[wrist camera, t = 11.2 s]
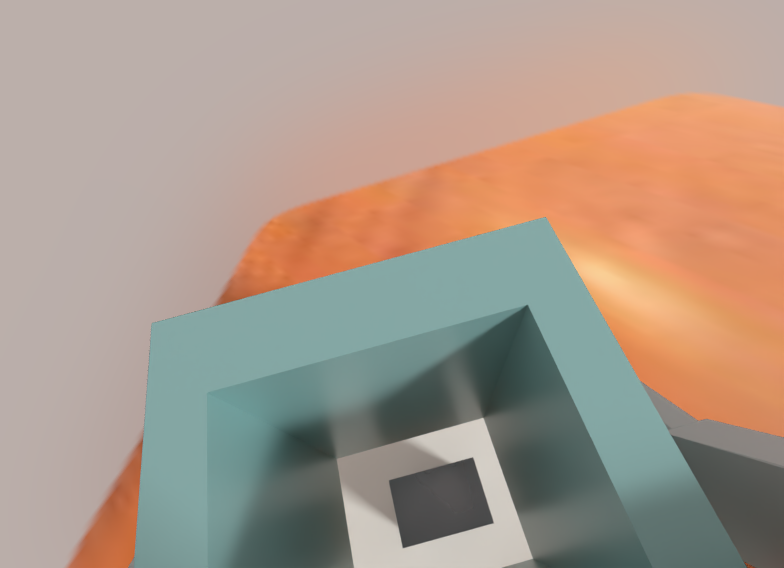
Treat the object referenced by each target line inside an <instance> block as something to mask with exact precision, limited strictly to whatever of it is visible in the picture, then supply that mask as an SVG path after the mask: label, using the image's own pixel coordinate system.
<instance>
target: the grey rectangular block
mask: <svg viewBox="0 0 784 568" xmlns="http://www.w3.org/2000/svg"><path fill="white" fill-rule="evenodd" d="M389 485H390V490H391V494H392V499H393V504H394V509H395V513H396V518H397V523H398V528H399V533H400V537H401V542H402V547H403V548H406V547H410V546H414V545H417V544H421V543H424V542H428V541H432V540H435V539H439V538H442V537H446V536H450V535H453V534H457V533H460V532H464V531H468V530H471V529H475V528H479V527H482V526H486V525H489V524H493V523H494V522H493V518H492V515H491V512H490V509H489V506H488V503H487V499H486V496H485V493H484V490H483V487H482V484H481V480H480V477H479V474H478V471H477V468H476V465H475V461H474V458H473V457H472V458H468V459H465V460H461V461H457V462H454V463H450V464H446V465H443V466H439V467H436V468H432V469H428V470H425V471H421V472H417V473H414V474H410V475H406V476H403V477H399V478H395V479H392V480H389Z"/></svg>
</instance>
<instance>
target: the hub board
mask: <svg viewBox="0 0 784 568" xmlns="http://www.w3.org/2000/svg"><path fill="white" fill-rule="evenodd" d="M472 457H473V458H474V461H475V465H476V468H477V471H478V474H479V477H480V480H481V484H482V487H483V490H484V493H485V496H486V499H487V503H488V506H489V509H490V512H491V515H492V518H493V522H494V523H493V524H489V525H486V526H482V527H479V528H475V529H471V530H468V531H464V532H460V533H457V534H453V535H450V536H446V537H442V538H439V539H435V540H432V541H428V542H424V543H421V544H417V545H414V546H410V547H406V548H403V547H402V542H401V537H400V533H399V528H398V523H397V518H396V513H395V509H394V504H393V499H392V494H391V490H390V485H389V480H392V479H395V478H399V477H403V476H406V475H410V474H414V473H417V472H421V471H425V470H428V469H432V468H436V467H439V466H443V465H446V464H450V463H454V462H457V461H461V460H465V459H468V458H472ZM337 464H338V470H339V476H340V483H341V489H342V495H343V501H344V508H345V514H346V520H347V527H348V533H349V539H350V545H351V552H352V558H353V564H354V568H502V567H506V566H509V565H513V564H516V563H520V562H523V561H527V560H530V559H533V558H532V555H531V552H530V549H529V546H528V543H527V540H526V538H525V535H524V532H523V529H522V526H521V523H520V521H519V518H518V515H517V512H516V509H515V506H514V503H513V501H512V498H511V495H510V492H509V489H508V486H507V484H506V481H505V478H504V475H503V472H502V469H501V466H500V464H499V461H498V458H497V455H496V452H495V449H494V447H493V444H492V441H491V438H490V435H489V432H488V429H487V427H486V424H485V421H484V418H481V419H478V420H474V421H470V422H467V423H463V424H460V425H456V426H453V427H449V428H445V429H442V430H438V431H435V432H431V433H428V434H424V435H420V436H417V437H413V438H410V439H406V440H402V441H399V442H395V443H392V444H388V445H385V446H381V447H377V448H374V449H370V450H367V451H363V452H360V453H356V454H352V455H349V456H345V457H342V458H338V459H337Z"/></svg>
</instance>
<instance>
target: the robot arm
mask: <svg viewBox="0 0 784 568" xmlns="http://www.w3.org/2000/svg"><path fill="white" fill-rule="evenodd" d="M640 382H641V381H640ZM641 384H642V385H643V387H644V389H645V391H646V392H647V394H648V396H649V398H650V399H651V401H652V403H653V405H654V406H655V408H656V410H657V412H658V413H659V415H660V417H661V419H662V420H663V422H664V424H665V426H666V427H667V429H668V431H669V433H670V434H671V436H672V438H673V439H674V441H675V443H676V445H677V446H678V448H679V450H680V452H681V453H682V455H683V457H684V459H685V460H686V462H687V464H688V466H689V467H690V469H691V471H692V473H693V474H694V476H695V478H696V480H697V481H698V483H699V485H700V487H701V488H702V490H703V492H704V493H705V495H706V497H707V499H708V500H709V502H710V504H711V506H712V507H713V509H714V511H715V513H716V514H717V516H718V518H719V520H720V521H721V523H722V525H723V527H724V528H725V530H726V532H727V534H728V535H729V537H730V539H731V541H732V542H733V544H734V546H735V547H736V549H737V551H738V553H739V554H740V556H741V558H742V560H743V561H744V562H746V563H748V564H750V565H752V566H753V567H755V568H784V437H779V436H775V435H771V434H767V433H763V432H759V431H755V430H751V429H746V428H742V427H738V426H734V425H730V424H726V423H722V422H718V421H713V420H709V419H704V420H701V421H698V420H696V419H695V418H693V417H692V416H691V415H689V414H688V413H686V412H685V411H683V410H682V409H680V408H679V407H677V406H676V405H674V404H673V403H672V402H670V401H669V400H667V399H666V398H664V397H663V396H661V395H660V394H658V393H657V392H655V391H654V390H653V389H651V388H650V387H648V386H647V385H645V384H644V383H642V382H641ZM134 558H135V557H134ZM134 558H133V560H132V562H131V563H130V565H129V567H128V568H134Z"/></svg>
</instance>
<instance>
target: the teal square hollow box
mask: <svg viewBox="0 0 784 568" xmlns="http://www.w3.org/2000/svg"><path fill="white" fill-rule="evenodd" d="M481 418H484V421H485V424H486V427H487V429H488V432H489V435H490V438H491V441H492V444H493V447H494V449H495V452H496V455H497V458H498V461H499V464H500V466H501V469H502V472H503V475H504V478H505V481H506V484H507V486H508V489H509V492H510V495H511V498H512V501H513V503H514V506H515V509H516V512H517V515H518V518H519V521H520V523H521V526H522V529H523V532H524V535H525V538H526V540H527V543H528V546H529V549H530V552H531V555H532V558H533V559H530V560H527V561H523V562H520V563H516V564H513V565H509V566H506V567H502V568H747V567H746V565H745V563H744V561H743V560H742V558H741V556H740V554H739V553H738V551H737V549H736V547H735V546H734V544H733V542H732V541H731V539H730V537H729V535H728V534H727V532H726V530H725V528H724V527H723V525H722V523H721V521H720V520H719V518H718V516H717V514H716V513H715V511H714V509H713V507H712V506H711V504H710V502H709V500H708V499H707V497H706V495H705V493H704V492H703V490H702V488H701V487H700V485H699V483H698V481H697V480H696V478H695V476H694V474H693V473H692V471H691V469H690V467H689V466H688V464H687V462H686V460H685V459H684V457H683V455H682V453H681V452H680V450H679V448H678V446H677V445H676V443H675V441H674V439H673V438H672V436H671V434H670V433H669V431H668V429H667V427H666V426H665V424H664V422H663V420H662V419H661V417H660V415H659V413H658V412H657V410H656V408H655V406H654V405H653V403H652V401H651V399H650V398H649V396H648V394H647V392H646V391H645V389H644V387H643V385H642V384H641V382H640V380H639V379H638V377H637V375H636V373H635V372H634V370H633V368H632V366H631V365H630V363H629V361H628V359H627V358H626V356H625V354H624V352H623V351H622V349H621V347H620V345H619V344H618V342H617V340H616V338H615V337H614V335H613V333H612V331H611V330H610V328H609V326H608V325H607V323H606V321H605V319H604V318H603V316H602V314H601V312H600V311H599V309H598V307H597V305H596V304H595V302H594V300H593V298H592V297H591V295H590V293H589V291H588V290H587V288H586V286H585V284H584V283H583V281H582V279H581V277H580V276H579V274H578V272H577V271H576V269H575V267H574V265H573V264H572V262H571V260H570V258H569V257H568V255H567V253H566V251H565V250H564V248H563V246H562V244H561V243H560V241H559V239H558V237H557V236H556V234H555V232H554V230H553V229H552V227H551V225H550V223H549V222H548V220H547V218H546V217H544V218H540V219H536V220H533V221H529V222H525V223H522V224H518V225H514V226H510V227H507V228H503V229H499V230H496V231H492V232H488V233H485V234H481V235H477V236H473V237H470V238H466V239H462V240H459V241H455V242H451V243H447V244H444V245H440V246H436V247H433V248H429V249H425V250H421V251H418V252H414V253H410V254H407V255H403V256H399V257H396V258H392V259H388V260H384V261H381V262H377V263H373V264H370V265H366V266H362V267H358V268H355V269H351V270H347V271H344V272H340V273H336V274H332V275H329V276H325V277H321V278H318V279H314V280H310V281H306V282H303V283H299V284H295V285H292V286H288V287H284V288H281V289H277V290H273V291H269V292H266V293H262V294H258V295H255V296H251V297H247V298H243V299H240V300H236V301H232V302H229V303H225V304H221V305H217V306H214V307H210V308H207V309H203V310H199V311H195V312H192V313H188V314H184V315H180V316H177V317H173V318H169V319H166V320H162V321H158V322H155V323H152V326H151V340H150V353H149V367H148V381H147V395H146V409H145V422H144V435H143V449H142V463H141V476H140V490H139V504H138V517H137V531H136V544H135V558H134V568H354V564H353V558H352V552H351V545H350V539H349V533H348V527H347V520H346V514H345V508H344V501H343V495H342V489H341V483H340V476H339V470H338V464H337V459H338V458H342V457H345V456H349V455H352V454H356V453H360V452H363V451H367V450H370V449H374V448H377V447H381V446H385V445H388V444H392V443H395V442H399V441H402V440H406V439H410V438H413V437H417V436H420V435H424V434H428V433H431V432H435V431H438V430H442V429H445V428H449V427H453V426H456V425H460V424H463V423H467V422H470V421H474V420H478V419H481Z"/></svg>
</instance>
